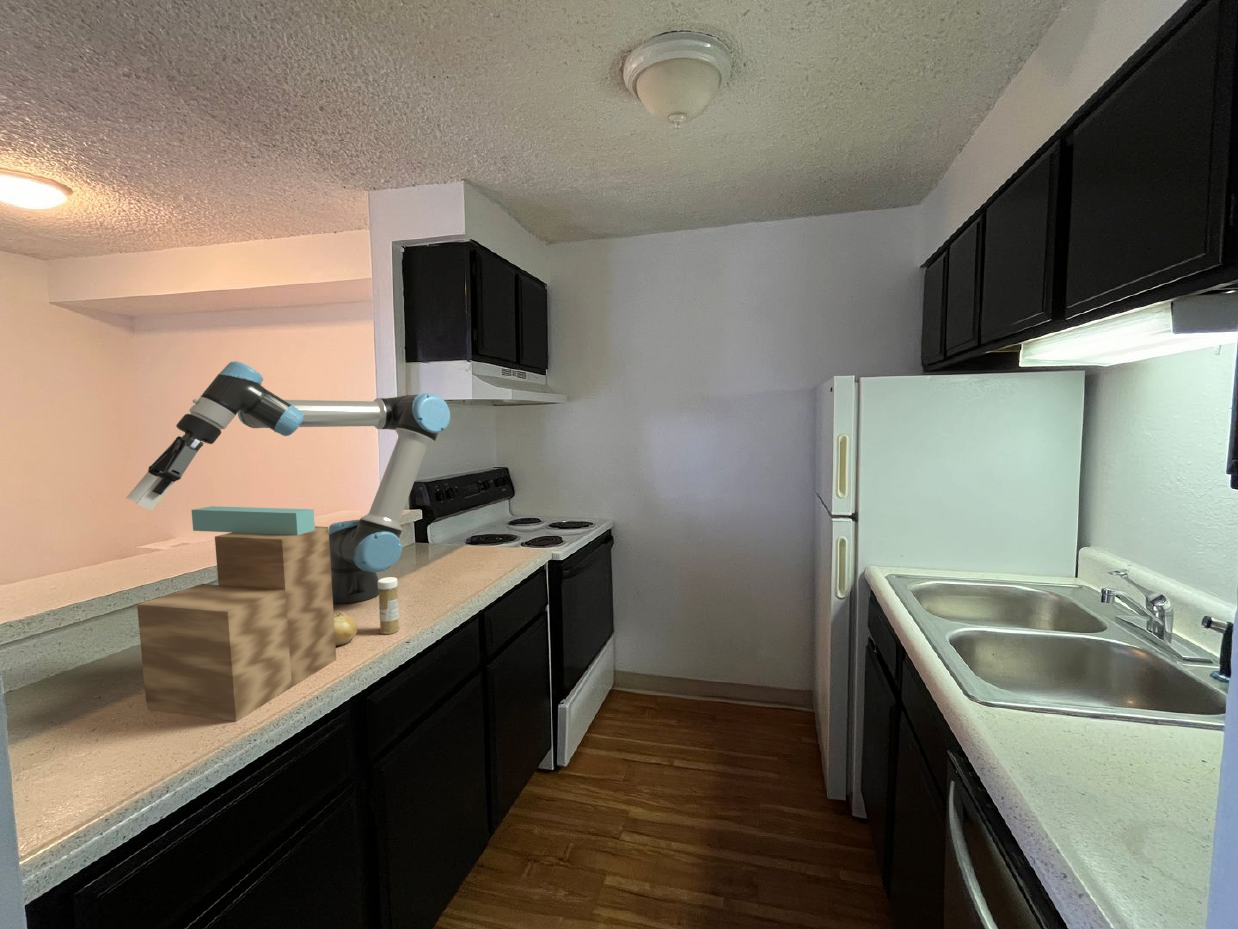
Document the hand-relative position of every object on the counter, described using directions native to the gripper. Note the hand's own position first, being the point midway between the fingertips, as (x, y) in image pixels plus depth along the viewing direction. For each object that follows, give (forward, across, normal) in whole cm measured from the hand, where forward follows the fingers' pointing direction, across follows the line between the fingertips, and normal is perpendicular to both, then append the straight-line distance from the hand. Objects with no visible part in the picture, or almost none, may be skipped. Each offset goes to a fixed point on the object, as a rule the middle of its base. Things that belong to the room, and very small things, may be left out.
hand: (138, 504), depth 109 cm
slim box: (-4, +19, +16) cm, 25 cm away
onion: (+11, +19, +46) cm, 51 cm away
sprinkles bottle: (+5, +22, +55) cm, 59 cm away
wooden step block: (+22, +25, +30) cm, 45 cm away
